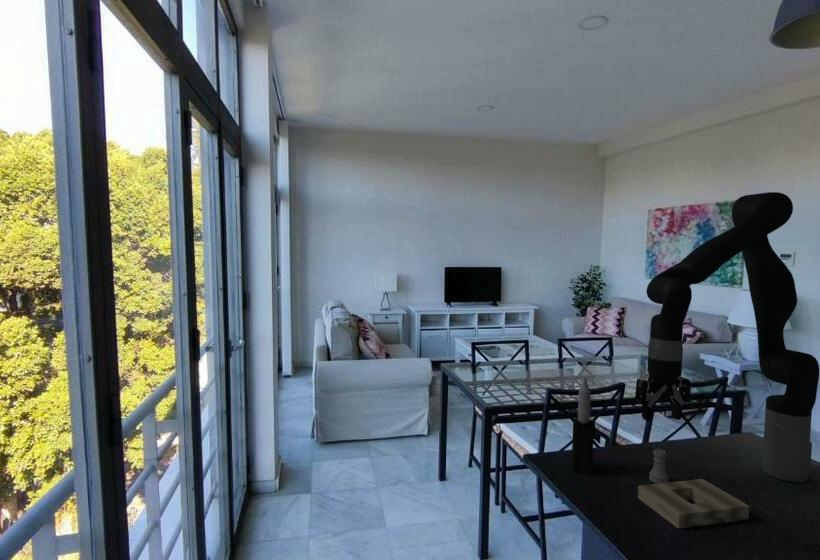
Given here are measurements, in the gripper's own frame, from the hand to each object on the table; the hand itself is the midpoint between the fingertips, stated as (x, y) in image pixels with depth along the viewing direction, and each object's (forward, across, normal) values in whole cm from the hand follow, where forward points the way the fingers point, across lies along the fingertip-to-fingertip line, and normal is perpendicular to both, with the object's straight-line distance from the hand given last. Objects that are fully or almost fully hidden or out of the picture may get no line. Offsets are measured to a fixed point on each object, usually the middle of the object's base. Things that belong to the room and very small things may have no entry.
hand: (661, 419), depth 112 cm
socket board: (+16, +2, +12) cm, 20 cm away
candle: (+16, +16, -9) cm, 24 cm away
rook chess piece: (+16, 0, 0) cm, 16 cm away
